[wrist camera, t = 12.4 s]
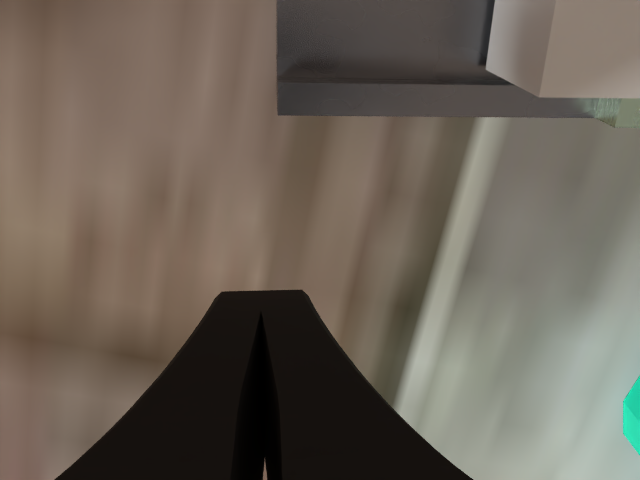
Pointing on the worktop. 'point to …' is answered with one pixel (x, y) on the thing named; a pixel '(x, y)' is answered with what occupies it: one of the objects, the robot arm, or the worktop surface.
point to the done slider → (567, 47)
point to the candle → (632, 416)
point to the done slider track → (408, 64)
